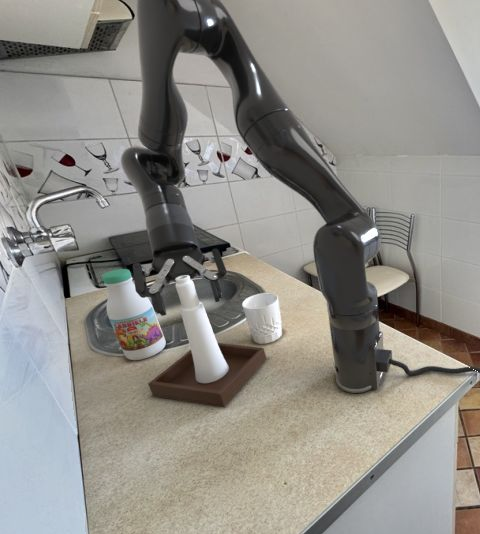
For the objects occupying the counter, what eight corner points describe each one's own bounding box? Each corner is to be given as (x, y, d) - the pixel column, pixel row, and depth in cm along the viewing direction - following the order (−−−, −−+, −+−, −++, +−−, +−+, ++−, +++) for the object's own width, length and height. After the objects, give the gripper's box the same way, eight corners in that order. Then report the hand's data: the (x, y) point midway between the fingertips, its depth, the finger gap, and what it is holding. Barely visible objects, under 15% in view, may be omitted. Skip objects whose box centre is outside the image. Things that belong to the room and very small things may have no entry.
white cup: (273, 347, 75) (265, 310, 71) (243, 343, 77) (234, 307, 73) (290, 328, 82) (284, 294, 79) (263, 325, 84) (255, 291, 80)
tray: (266, 359, 71) (263, 347, 70) (224, 407, 59) (220, 394, 58) (205, 352, 74) (202, 340, 73) (153, 396, 62) (147, 383, 61)
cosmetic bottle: (202, 366, 69) (171, 272, 60) (232, 362, 70) (206, 269, 61) (191, 386, 63) (155, 286, 55) (224, 381, 64) (193, 282, 56)
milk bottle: (123, 350, 75) (89, 272, 67) (163, 336, 80) (135, 262, 72) (128, 366, 70) (91, 283, 62) (170, 350, 75) (141, 272, 67)
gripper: (119, 228, 57) (136, 312, 52) (210, 216, 64) (232, 289, 60) (132, 249, 63) (149, 325, 58) (214, 235, 70) (234, 302, 66)
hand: (191, 307), depth 59 cm, fingers open, 8 cm apart
